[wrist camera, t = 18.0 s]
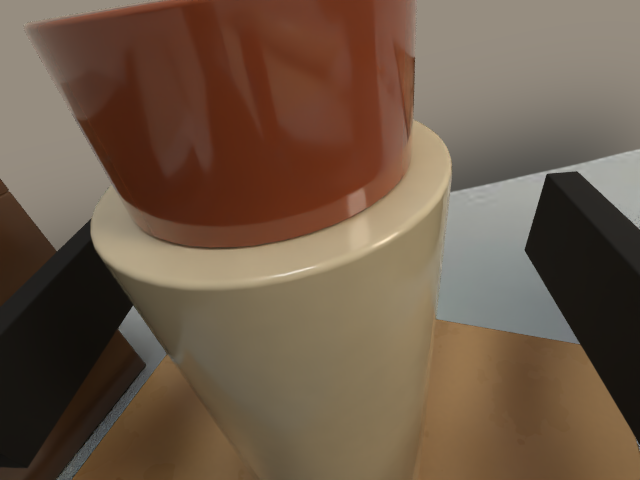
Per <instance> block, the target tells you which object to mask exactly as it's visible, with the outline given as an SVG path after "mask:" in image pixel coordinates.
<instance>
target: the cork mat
mask: <svg viewBox="0 0 640 480" xmlns="http://www.w3.org/2000/svg"><path fill="white" fill-rule="evenodd" d="M72 480H254V478H253V477H252V475H251V474H250V472H249V471H248V469H247V468H246V467H245V465H244V464H243V462H242V461H241V459H240V458H239V457H238V455H237V454H236V452H235V451H234V449H233V448H232V446H231V445H230V444H229V442H228V441H227V439H226V438H225V436H224V435H223V434H222V432H221V431H220V429H219V428H218V426H217V425H216V423H215V422H214V421H213V419H212V418H211V416H210V415H209V413H208V412H207V411H206V409H205V408H204V406H203V405H202V403H201V402H200V400H199V399H198V398H197V396H196V395H195V393H194V392H193V390H192V389H191V388H190V386H189V385H188V383H187V382H186V380H185V379H184V377H183V376H182V375H181V373H180V372H179V370H178V369H177V367H176V366H175V365H174V363H173V362H172V360H171V359H170V357H169V356H168V355H166V356H165V357H164V359H163V360H162V361H161V363H160V364H159V365H158V367H157V368H156V369H155V371H154V372H153V373H152V374H151V376H150V377H149V378H148V380H147V381H146V382H145V384H144V385H143V386H142V388H141V389H140V390H139V392H138V393H137V394H136V396H135V397H134V398H133V400H132V401H131V402H130V403H129V405H128V406H127V407H126V409H125V410H124V411H123V413H122V414H121V415H120V417H119V418H118V419H117V421H116V422H115V423H114V425H113V426H112V427H111V428H110V430H109V431H108V432H107V434H106V435H105V436H104V438H103V439H102V440H101V442H100V443H99V444H98V446H97V447H96V448H95V450H94V451H93V452H92V454H91V455H90V456H89V457H88V459H87V460H86V461H85V463H84V464H83V465H82V467H81V468H80V469H79V471H78V472H77V473H76V475H75V476H74V477H73V479H72ZM418 480H640V451H639V448H638V445H637V441H636V438H635V435H634V434H633V432H632V430H631V429H630V427H629V425H628V424H627V422H626V420H625V419H624V417H623V415H622V414H621V412H620V410H619V409H618V407H617V405H616V403H615V402H614V400H613V398H612V397H611V395H610V393H609V392H608V390H607V388H606V387H605V385H604V383H603V382H602V380H601V378H600V377H599V375H598V373H597V371H596V370H595V368H594V366H593V365H592V363H591V361H590V360H589V358H588V356H587V355H586V353H585V351H584V350H583V348H582V346H581V345H580V344H575V343H569V342H563V341H558V340H552V339H546V338H540V337H535V336H529V335H523V334H517V333H512V332H506V331H500V330H494V329H489V328H483V327H477V326H471V325H466V324H460V323H454V322H449V321H443V320H437V319H436V326H435V335H434V344H433V354H432V363H431V372H430V381H429V390H428V400H427V409H426V418H425V427H424V437H423V446H422V455H421V464H420V473H419V478H418Z"/></svg>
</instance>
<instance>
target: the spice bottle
mask: <svg viewBox="0 0 640 480" xmlns="http://www.w3.org/2000/svg"><path fill="white" fill-rule="evenodd" d="M416 10H417V0H151V1H145V2H139V3H133V4H128V5H122V6H116V7H110V8H105V9H100V10H94V11H88V12H82V13H77V14H71V15H65V16H60V17H54V18H49V19H43V20H39V21H33V22H28V23H26V24H25V25H24V31H25V33H26V35H27V36H28V38H29V40H30V41H31V43H32V45H33V47H34V49H35V50H36V52H37V54H38V56H39V57H40V59H41V61H42V63H43V64H44V66H45V68H46V70H47V71H48V73H49V75H50V77H51V79H52V80H53V82H54V84H55V86H56V87H57V89H58V91H59V93H60V94H61V96H62V98H63V100H64V101H65V103H66V105H67V107H68V108H69V110H70V112H71V114H72V115H73V117H74V119H75V121H76V122H77V124H78V126H79V128H80V129H81V131H82V133H83V135H84V136H85V138H86V140H87V142H88V143H89V145H90V147H91V149H92V150H93V152H94V154H95V156H96V157H97V159H98V161H99V163H100V164H101V166H102V168H103V170H104V171H105V173H106V175H107V177H108V178H109V180H110V182H111V184H112V185H111V186H110V187H109V188H108V189H107V190H106V191H105V193H104V194H103V195H102V197H101V198H100V200H99V201H98V203H97V205H96V207H95V209H94V211H93V215H92V219H91V240H92V243H93V246H94V249H95V251H96V252H97V254H98V255H99V257H100V258H101V260H102V261H103V263H104V264H105V265H106V267H107V268H108V270H109V271H110V273H111V274H112V275H113V277H114V278H115V280H116V281H117V283H118V284H119V286H120V287H121V288H122V290H123V291H124V293H125V294H126V296H127V297H128V298H129V300H130V301H131V303H132V304H133V306H134V307H135V309H136V310H137V311H138V313H139V314H140V316H141V317H142V319H143V320H144V321H145V323H146V324H147V326H148V327H149V329H150V330H151V332H152V333H153V334H154V336H155V337H156V339H157V340H158V342H159V343H160V344H161V346H162V347H163V349H164V350H165V352H166V353H167V355H168V356H169V357H170V359H171V360H172V362H173V363H174V365H175V366H176V367H177V369H178V370H179V372H180V373H181V375H182V376H183V377H184V379H185V380H186V382H187V383H188V385H189V386H190V388H191V389H192V390H193V392H194V393H195V395H196V396H197V398H198V399H199V400H200V402H201V403H202V405H203V406H204V408H205V409H206V411H207V412H208V413H209V415H210V416H211V418H212V419H213V421H214V422H215V423H216V425H217V426H218V428H219V429H220V431H221V432H222V434H223V435H224V436H225V438H226V439H227V441H228V442H229V444H230V445H231V446H232V448H233V449H234V451H235V452H236V454H237V455H238V457H239V458H240V459H241V461H242V462H243V464H244V465H245V467H246V468H247V469H248V471H249V472H250V474H251V475H252V477H253V478H254V480H418V478H419V473H420V464H421V455H422V446H423V437H424V427H425V418H426V409H427V400H428V390H429V381H430V372H431V363H432V354H433V344H434V335H435V326H436V317H437V308H438V298H439V289H440V280H441V271H442V262H443V252H444V243H445V234H446V225H447V216H448V206H449V197H450V188H451V178H452V161H451V158H450V155H449V152H448V149H447V147H446V145H445V144H444V142H443V141H442V140H441V138H440V137H439V136H438V135H437V134H436V133H435V132H434V131H432V130H431V129H430V128H428V127H427V126H425V125H424V124H422V123H420V122H418V121H416V120H413V112H414V111H413V110H414V78H415V77H414V76H415V44H416Z"/></svg>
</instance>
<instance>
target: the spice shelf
mask: <svg viewBox="0 0 640 480" xmlns="http://www.w3.org/2000/svg"><path fill="white" fill-rule="evenodd" d="M8 190H9V189H8V188H7V187H6V185H5V184H4V183H3V182H2V180H1V179H0V307H1V306H2V305H3V304H4V303H5V302H6V301H7V300H8V299H9V298H10V297H11V296H12V295H13V294H14V293H15V292H16V291H17V290H18V289H19V288H20V287H21V286H22V285H23V284H24V283H25V282H26V281H27V280H28V279H30V278H31V277H32V276H33V275H34V274H35V273H36V272H37V271H38V270H39V269H40V268H41V267H42V266H43V265H44V264H45V263H46V262H47V261H48V260H49V259H50V258H51V257H52V256H53V255H54V254H55V253H56V252H57V251H56V250H55V249H54V247H53V246H52V245H51V243H50V242H49V241H48V240H47V238H46V237H45V236H44V235H43V233H42V232H41V231H40V229H39V228H38V227H37V226H36V224H35V223H34V222H33V221H32V219H31V218H30V217H29V216H28V215H27V213H26V212H25V210H24V209H23V208H22V207H21V205H20V204H19V203H18V202H17V200H16V199H15V198H14V196H13V195H12V194H11V193H10V192H9V191H8ZM144 366H145V363H144V362H143V360H142V359H141V358H140V357H139V355H138V354H137V353H136V352H135V350H134V349H133V348H132V346H131V345H130V344H129V343H128V341H127V340H126V339H125V338H124V336H123V335H122V334H121V332H120V331H119V330H118V329H117V331H116V332H115V334H114V335H113V337H112V338H111V340H110V342H109V343H108V345H107V346H106V348H105V349H104V351H103V352H102V354H101V355H100V357H99V359H98V360H97V362H96V363H95V365H94V366H93V368H92V369H91V371H90V372H89V374H88V376H87V377H86V379H85V380H84V382H83V383H82V385H81V386H80V388H79V389H78V391H77V393H76V394H75V396H74V397H73V399H72V400H71V402H70V403H69V405H68V407H67V408H66V410H65V411H64V413H63V414H62V416H61V417H60V419H59V420H58V422H57V424H56V425H55V427H54V428H53V430H52V431H51V433H50V434H49V436H48V437H47V439H46V441H45V442H44V444H43V445H42V447H41V448H40V450H39V451H38V453H37V454H36V456H35V458H34V459H33V461H32V462H31V464H30V465H29V467H28V468H3V467H0V480H55V479H56V478H57V477H58V475H59V474H60V473H61V472H62V470H63V469H64V468H65V466H66V465H67V464H68V463H69V461H70V460H71V459H72V458H73V456H74V455H75V454H76V453H77V451H78V450H79V449H80V447H81V446H82V445H83V444H84V442H85V441H86V440H87V439H88V437H89V436H90V435H91V434H92V432H93V431H94V430H95V428H96V427H97V426H98V425H99V423H100V422H101V421H102V420H103V418H104V417H105V416H106V415H107V413H108V412H109V411H110V409H111V408H112V407H113V406H114V404H115V403H116V402H117V401H118V399H119V398H120V397H121V396H122V394H123V393H124V392H125V391H126V389H127V388H128V387H129V385H130V384H131V383H132V382H133V380H134V379H135V378H136V377H137V375H138V374H139V373H140V372H141V370H142V369H143V368H144Z"/></svg>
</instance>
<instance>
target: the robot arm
mask: <svg viewBox="0 0 640 480" xmlns="http://www.w3.org/2000/svg"><path fill="white" fill-rule="evenodd" d="M91 219H92V218H91ZM91 219H90V220H89V221H88V222H87V223H86V224H85V225H84V226H83V227H82V228H81V229H80V230H79V231H78V232H77V233H76V234H75V235H74V236H73V237H72V238H71V239H70V240H69V241H68V242H67V243H66V244H65V245H64V246H62V247H61V249H59V250H58V251H57V252H56V253H55V254H54V255H53V256H52V257H51V258H50V259H49V260H48V261H47V262H46V263H45V264H44V265H43V266H42V267H41V268H40V269H39V270H38V271H37V272H36V273H35V274H34V275H33V276H32V277H31V278H30V279H28V280H27V281H26V282H25V283H24V284H23V285H22V286H21V287H20V288H19V289H18V290H17V291H16V292H15V293H14V294H13V295H12V296H11V297H10V298H9V299H8V300H7V301H6V302H5V303H4V304H3V305H2V306H1V307H0V467H3V468H28V467H29V465H30V464H31V462H32V461H33V459H34V458H35V456H36V454H37V453H38V451H39V450H40V448H41V447H42V445H43V444H44V442H45V441H46V439H47V437H48V436H49V434H50V433H51V431H52V430H53V428H54V427H55V425H56V424H57V422H58V420H59V419H60V417H61V416H62V414H63V413H64V411H65V410H66V408H67V407H68V405H69V403H70V402H71V400H72V399H73V397H74V396H75V394H76V393H77V391H78V389H79V388H80V386H81V385H82V383H83V382H84V380H85V379H86V377H87V376H88V374H89V372H90V371H91V369H92V368H93V366H94V365H95V363H96V362H97V360H98V359H99V357H100V355H101V354H102V352H103V351H104V349H105V348H106V346H107V345H108V343H109V342H110V340H111V338H112V337H113V335H114V334H115V332H116V331H117V329H118V328H119V326H120V325H121V323H122V321H123V320H124V318H125V317H126V315H127V314H128V312H129V311H130V309H131V308H132V306H133V304H132V303H131V301H130V300H129V298H128V297H127V296H126V294H125V293H124V291H123V290H122V288H121V287H120V286H119V284H118V283H117V281H116V280H115V278H114V277H113V275H112V274H111V273H110V271H109V270H108V268H107V267H106V265H105V264H104V263H103V261H102V260H101V258H100V257H99V255H98V254H97V252H96V251H95V249H94V246H93V243H92V240H91ZM525 252H526V254H527V255H528V257H529V259H530V260H531V262H532V264H533V265H534V267H535V269H536V270H537V272H538V274H539V275H540V277H541V279H542V280H543V282H544V284H545V286H546V287H547V289H548V291H549V292H550V294H551V296H552V297H553V299H554V301H555V302H556V304H557V306H558V307H559V309H560V311H561V313H562V314H563V316H564V318H565V319H566V321H567V323H568V324H569V326H570V328H571V329H572V331H573V333H574V334H575V336H576V338H577V339H578V341H579V343H580V345H581V346H582V348H583V350H584V351H585V353H586V355H587V356H588V358H589V360H590V361H591V363H592V365H593V366H594V368H595V370H596V371H597V373H598V375H599V377H600V378H601V380H602V382H603V383H604V385H605V387H606V388H607V390H608V392H609V393H610V395H611V397H612V398H613V400H614V402H615V403H616V405H617V407H618V409H619V410H620V412H621V414H622V415H623V417H624V419H625V420H626V422H627V424H628V425H629V427H630V429H631V430H632V432H633V434H634V435H635V437H636V439H637V441H638V442H639V444H640V230H639V229H638V228H637V227H636V226H635V225H634V224H633V223H632V222H631V221H630V220H629V219H628V218H627V217H626V216H624V215H623V214H622V213H621V212H620V211H619V210H618V209H617V208H616V207H615V206H614V205H613V204H612V203H611V202H609V201H608V200H607V199H606V198H605V197H604V196H603V195H602V194H601V193H600V192H599V191H598V190H597V189H596V188H594V187H593V186H592V185H591V184H590V183H589V182H588V181H587V180H586V179H585V178H584V177H583V176H582V175H581V174H579V173H578V172H577V171H576V172H564V173H552V174H547V175H546V178H545V182H544V185H543V189H542V192H541V196H540V199H539V202H538V206H537V209H536V213H535V216H534V219H533V223H532V226H531V230H530V233H529V237H528V240H527V243H526V247H525Z"/></svg>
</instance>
